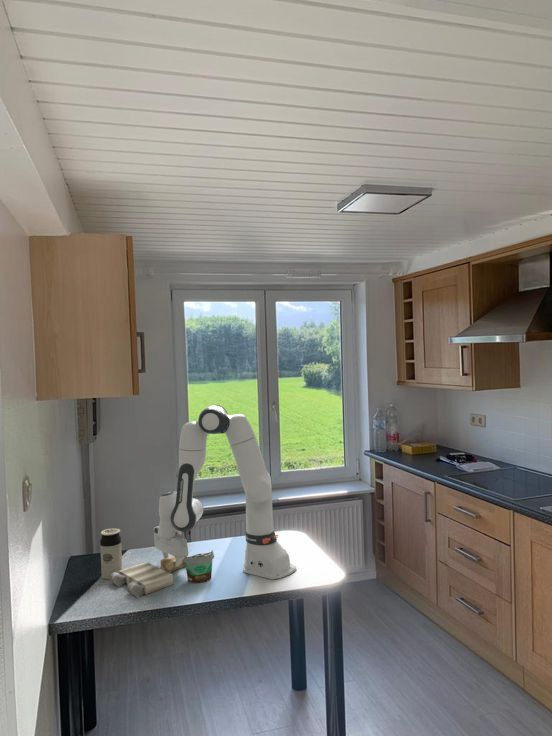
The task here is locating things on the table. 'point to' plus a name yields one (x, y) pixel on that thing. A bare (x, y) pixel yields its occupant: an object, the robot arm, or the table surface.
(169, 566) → the tan rectangular block
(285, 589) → the table surface
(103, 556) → the travel mug
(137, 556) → the table surface
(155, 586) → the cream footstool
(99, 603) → the table surface
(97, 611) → the table surface
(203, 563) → the food container
